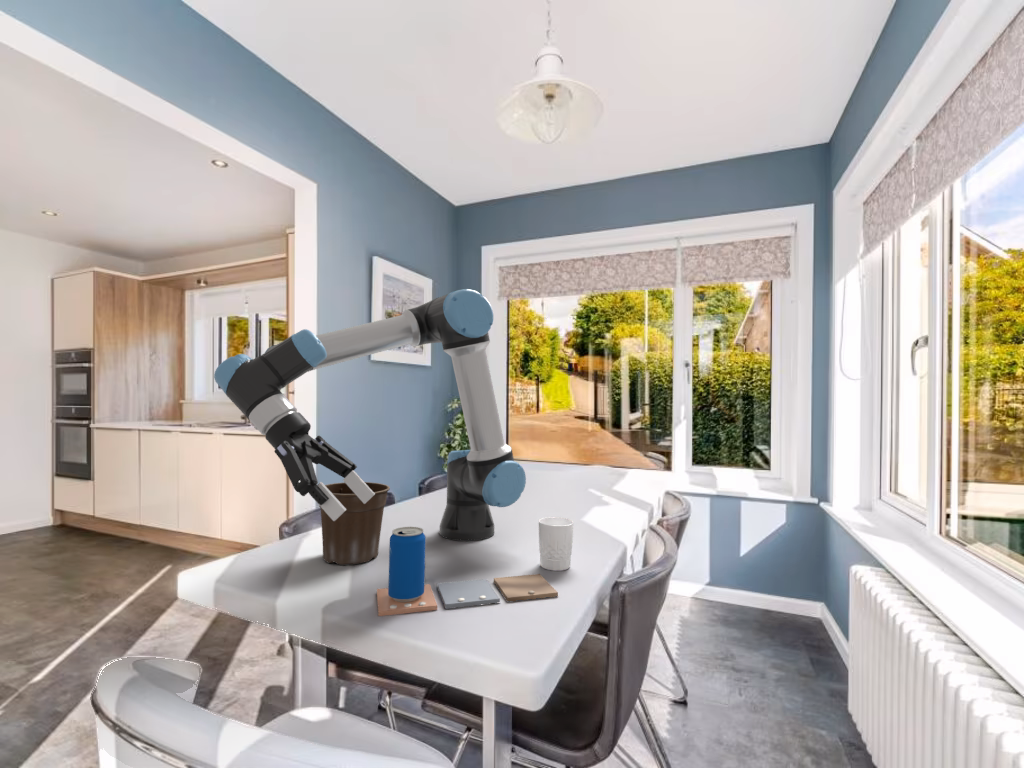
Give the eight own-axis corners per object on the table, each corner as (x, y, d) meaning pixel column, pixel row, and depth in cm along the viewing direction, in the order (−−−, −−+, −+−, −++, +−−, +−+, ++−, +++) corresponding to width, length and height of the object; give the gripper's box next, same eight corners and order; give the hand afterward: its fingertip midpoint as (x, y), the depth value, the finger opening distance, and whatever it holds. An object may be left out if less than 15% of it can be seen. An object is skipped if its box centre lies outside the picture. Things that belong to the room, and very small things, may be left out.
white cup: (550, 557, 115) (551, 515, 115) (579, 565, 110) (580, 521, 110) (530, 566, 109) (531, 521, 109) (560, 574, 104) (560, 527, 104)
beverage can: (386, 591, 91) (388, 527, 91) (420, 587, 93) (422, 525, 94) (390, 606, 85) (392, 537, 85) (427, 601, 87) (428, 534, 87)
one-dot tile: (493, 582, 99) (493, 577, 99) (539, 577, 102) (539, 572, 102) (507, 602, 89) (507, 596, 89) (557, 596, 92) (557, 591, 92)
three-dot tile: (376, 593, 92) (376, 587, 92) (429, 588, 95) (429, 583, 95) (378, 616, 83) (378, 610, 83) (437, 609, 86) (437, 604, 86)
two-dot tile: (437, 587, 96) (437, 582, 96) (486, 582, 99) (486, 577, 99) (445, 608, 86) (445, 603, 86) (499, 603, 89) (499, 597, 89)
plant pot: (373, 542, 124) (375, 479, 124) (398, 560, 111) (400, 489, 111) (306, 553, 114) (308, 484, 115) (325, 574, 101) (327, 496, 102)
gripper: (301, 432, 104) (367, 505, 103) (223, 443, 79) (308, 539, 78) (326, 408, 104) (392, 481, 102) (255, 412, 79) (341, 508, 78)
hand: (356, 506), depth 90 cm, fingers open, 13 cm apart
